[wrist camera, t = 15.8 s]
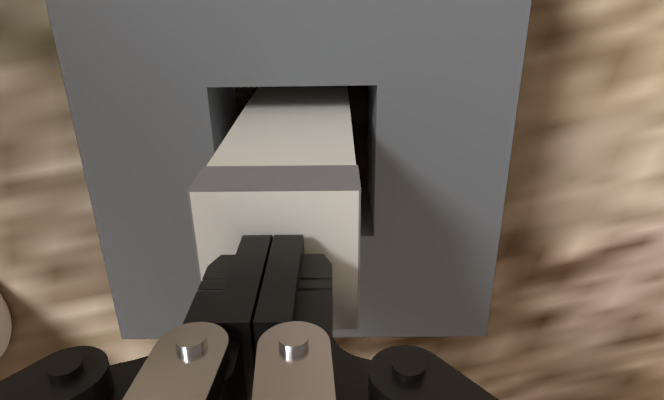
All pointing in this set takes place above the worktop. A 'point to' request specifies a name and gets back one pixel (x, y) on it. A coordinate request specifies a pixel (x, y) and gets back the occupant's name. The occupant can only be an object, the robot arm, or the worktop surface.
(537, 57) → the worktop surface
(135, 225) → the socket block
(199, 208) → the plug
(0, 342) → the milk bottle
